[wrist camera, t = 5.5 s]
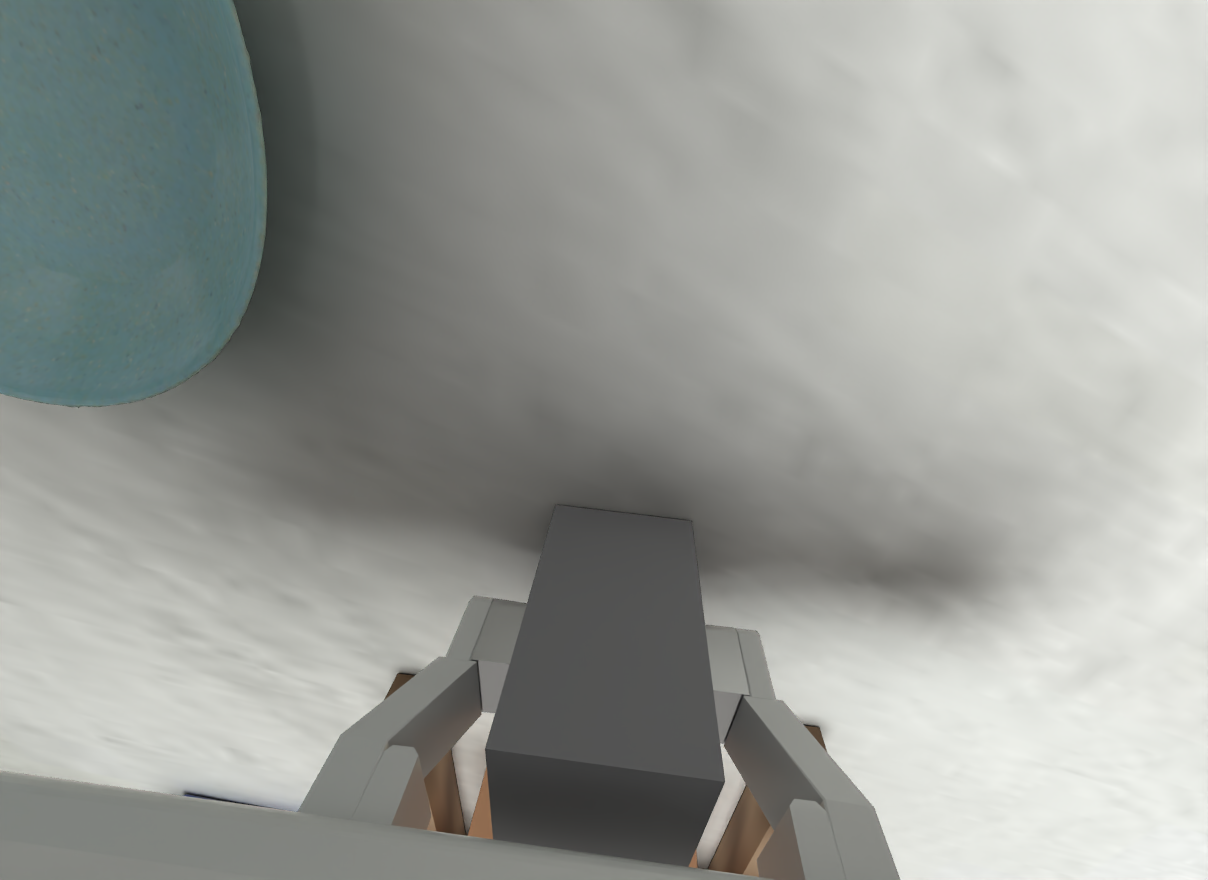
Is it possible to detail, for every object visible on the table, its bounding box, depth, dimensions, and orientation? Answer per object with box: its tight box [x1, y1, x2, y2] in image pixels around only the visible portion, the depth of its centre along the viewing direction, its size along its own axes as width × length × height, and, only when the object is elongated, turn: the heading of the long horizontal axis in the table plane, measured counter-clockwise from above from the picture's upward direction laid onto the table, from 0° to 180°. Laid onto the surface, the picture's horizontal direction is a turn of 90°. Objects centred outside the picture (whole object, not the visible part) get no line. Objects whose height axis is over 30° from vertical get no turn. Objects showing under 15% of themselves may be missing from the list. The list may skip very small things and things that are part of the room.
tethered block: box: [468, 505, 725, 868], centre depth 15 cm, size 21×8×6 cm, turn 175°
